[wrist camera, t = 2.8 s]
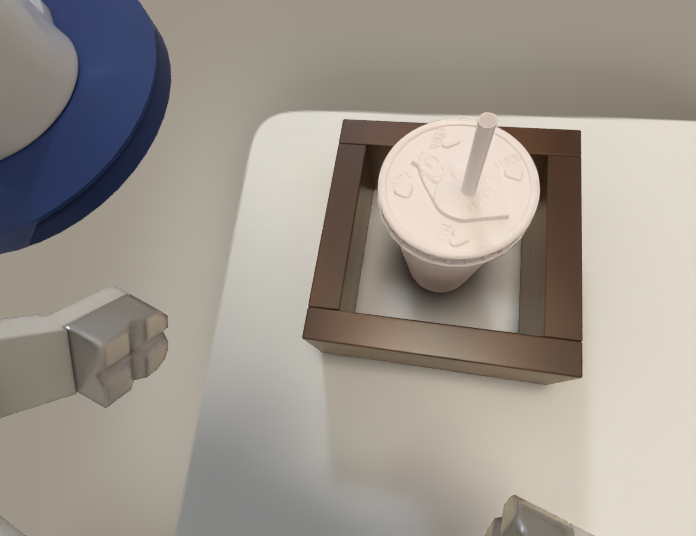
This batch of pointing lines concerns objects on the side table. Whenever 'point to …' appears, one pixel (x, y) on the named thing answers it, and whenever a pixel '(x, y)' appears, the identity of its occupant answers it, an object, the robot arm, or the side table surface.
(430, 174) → the smoothie
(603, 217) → the side table surface
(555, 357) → the crate
